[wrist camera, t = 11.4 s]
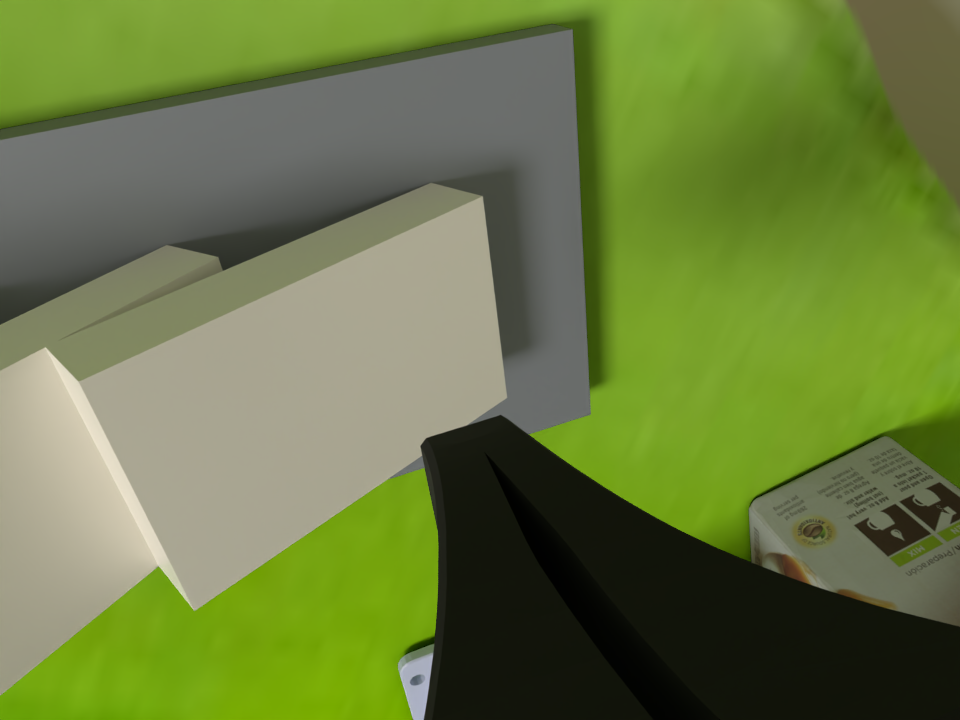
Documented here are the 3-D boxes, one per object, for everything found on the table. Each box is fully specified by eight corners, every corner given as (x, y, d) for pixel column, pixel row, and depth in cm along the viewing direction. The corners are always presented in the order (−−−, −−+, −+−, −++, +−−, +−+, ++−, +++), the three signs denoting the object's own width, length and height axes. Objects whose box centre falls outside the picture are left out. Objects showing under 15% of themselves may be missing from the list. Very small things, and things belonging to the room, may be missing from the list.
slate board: (575, 395, 21) (590, 414, 20) (-530, 740, 16) (-569, 785, 15) (552, 24, 16) (572, 29, 15) (-1146, 347, 10) (-1259, 384, 9)
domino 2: (507, 397, 17) (194, 610, 13) (461, 375, 18) (158, 565, 14) (483, 196, 15) (77, 381, 10) (430, 182, 16) (44, 346, 11)
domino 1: (287, 460, 16) (-99, 775, 11) (240, 440, 17) (-138, 724, 12) (218, 256, 14) (-335, 545, 8) (167, 244, 15) (-367, 500, 9)
